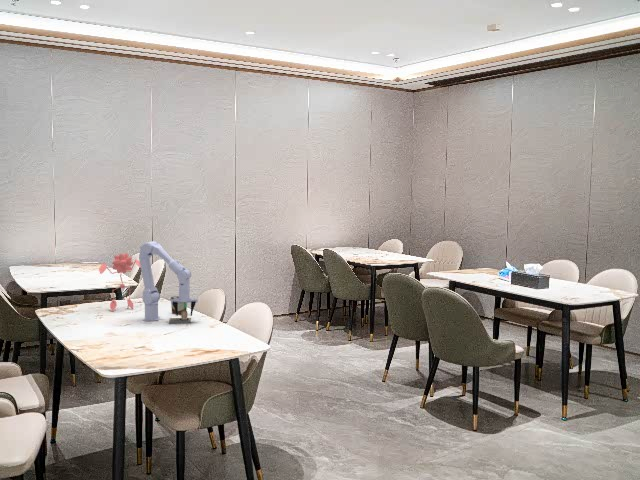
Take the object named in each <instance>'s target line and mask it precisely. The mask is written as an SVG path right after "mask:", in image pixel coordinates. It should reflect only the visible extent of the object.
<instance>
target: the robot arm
mask: <svg viewBox="0 0 640 480" xmlns="http://www.w3.org/2000/svg"><path fill="white" fill-rule="evenodd" d="M139 248H140V249H139V251H140V252H139V254H138V261H140V266H141V268H140V270H141V271H140V272H141V277H142V280H143V281H142V282H143V286H144V289H143V290H142V297H141V298H142V302H143V304H144V317H143V318H144V319H143V322H154V321H155V322H157V321H159V320H160V316H159V301H160V300H161V294H160V293H159V291H158V290H159V289H158V288H157V287H156V286H155V282H154V276H153V270H152V267H151V266H152V265H151V262H150V261H151V260H150V259H151V258H152V257H153V255H157V256H158V257H160V258H161V259H162V260H164V261H165V263H166V264H168V268H169V269H170V270H171V271H172V272H173V273H174V274H175V275H176V277H177V278H176V279H177V280H178V296H179V299H171V300H170V304H171V303H173V306H174V308H175V311H176V314H175V315H176V317H179V315H178V303H187V304H188V303H190V316H193V311H194V309H195V306H196V304H197V303H199V302H198V301H199V300H198V298H191V297H190V296H191V295H190V292H191V291H190V283H191V282H190V279H191V277H192V272H191V270H190V269H188V268H186V267H185V266H183V265H182V264H181V263H180V260H177V259H173V258H172V257H171V256H170V255H169V254H168V253H167V251H166V250H165V249H164V248H163V247H162V245H161V244H159V242H158V241H155V240H152V241H145V242H143V243H142V244H141V246H140V247H139ZM181 301H182V302H181ZM186 301H187V302H186Z"/></svg>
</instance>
